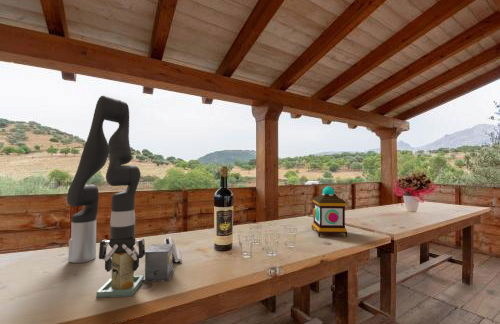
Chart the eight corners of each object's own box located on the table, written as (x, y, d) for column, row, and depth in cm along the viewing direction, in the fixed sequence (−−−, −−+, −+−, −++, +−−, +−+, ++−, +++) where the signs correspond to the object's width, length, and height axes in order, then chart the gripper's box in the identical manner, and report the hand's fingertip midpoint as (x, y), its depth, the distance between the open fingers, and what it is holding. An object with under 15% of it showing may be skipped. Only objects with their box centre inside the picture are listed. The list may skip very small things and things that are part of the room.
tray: (96, 297, 77) (96, 292, 77) (112, 281, 88) (112, 276, 88) (132, 296, 78) (132, 290, 78) (143, 280, 89) (144, 275, 89)
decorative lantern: (350, 238, 143) (350, 187, 144) (316, 238, 143) (317, 187, 144) (338, 229, 163) (338, 185, 164) (309, 229, 163) (309, 184, 164)
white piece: (182, 263, 105) (174, 242, 104) (171, 268, 103) (163, 247, 102) (179, 250, 121) (172, 232, 120) (170, 254, 119) (163, 236, 118)
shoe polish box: (125, 281, 87) (125, 248, 87) (133, 285, 84) (134, 250, 84) (111, 287, 83) (111, 252, 83) (119, 291, 80) (120, 255, 80)
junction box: (142, 282, 88) (142, 252, 88) (150, 270, 97) (150, 244, 97) (168, 281, 89) (168, 252, 89) (174, 270, 98) (174, 243, 98)
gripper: (95, 226, 79) (94, 276, 79) (140, 225, 80) (139, 274, 80) (106, 221, 87) (105, 266, 86) (147, 220, 88) (147, 265, 88)
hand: (122, 270), depth 83 cm, fingers open, 8 cm apart
